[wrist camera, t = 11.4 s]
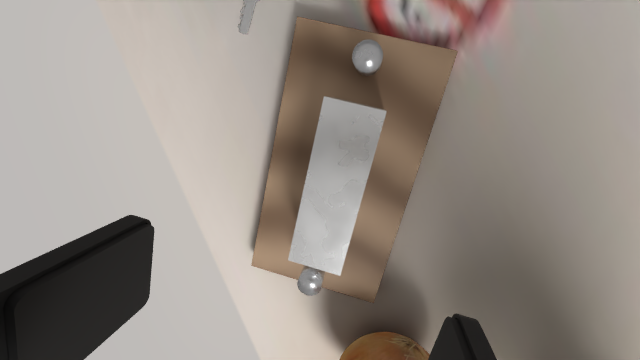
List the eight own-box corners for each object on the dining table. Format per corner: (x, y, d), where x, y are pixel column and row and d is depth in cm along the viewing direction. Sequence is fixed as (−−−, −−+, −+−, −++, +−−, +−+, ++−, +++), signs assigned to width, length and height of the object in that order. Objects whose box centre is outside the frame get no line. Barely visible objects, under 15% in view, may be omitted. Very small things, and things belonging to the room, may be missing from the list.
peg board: (373, 293, 29) (373, 326, 25) (257, 257, 30) (237, 283, 26) (452, 54, 23) (471, 43, 18) (301, 21, 24) (286, 4, 20)
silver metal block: (383, 109, 23) (386, 111, 18) (345, 244, 26) (340, 275, 22) (333, 97, 23) (323, 96, 19) (302, 232, 27) (287, 260, 22)
